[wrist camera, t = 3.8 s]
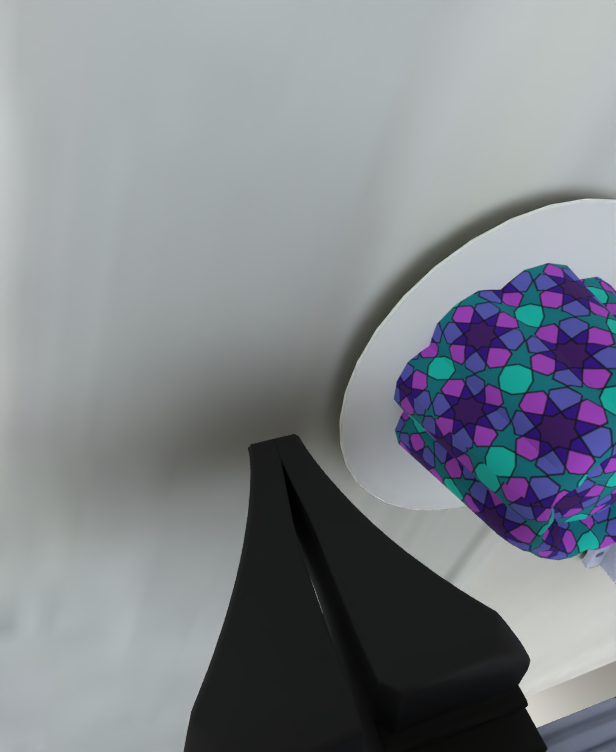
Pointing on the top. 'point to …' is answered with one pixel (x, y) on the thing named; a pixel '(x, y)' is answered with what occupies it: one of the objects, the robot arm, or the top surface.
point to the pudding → (500, 384)
